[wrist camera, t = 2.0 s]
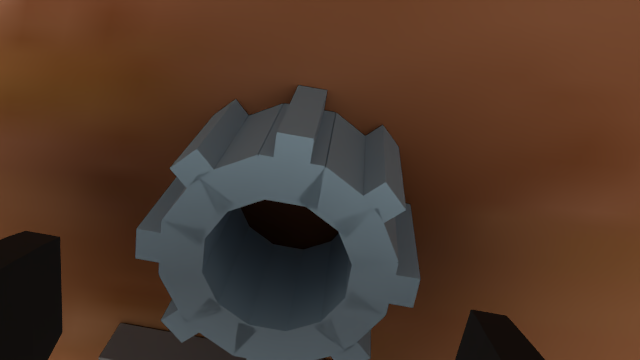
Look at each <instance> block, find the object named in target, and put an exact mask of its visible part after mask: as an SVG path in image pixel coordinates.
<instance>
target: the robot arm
mask: <svg viewBox="0 0 640 360" xmlns="http://www.w3.org/2000/svg"><path fill="white" fill-rule="evenodd" d="M61 334H62V296H61V257H60V237H57V236H51V235H46V234H40V233H34V232H29V231H24V232H21V233H18V234H15V235H12V236H9V237H6V238H4V239H1V240H0V360H48V358H49V356H50V354H51V353H52V351H53V349H54V347H55V345H56V343H57V341H58V339H59V338H60V336H61ZM455 360H545V359H544V358H543V357H542V356H541V355H540V353H539V352H538V351H537V350H536V349H535V348H534V346H533V345H532V344H531V343H530V342H529V341H528V339H527V338H526V337H525V336H524V335H523V334H522V332H521V331H520V330H519V329H518V328H517V327H516V326H515V325H514V323H513V322H512V321H511V320H510V319H509V318H508V317H507V316H505V315H499V314H493V313H488V312H482V311H476V310H471V311H470V315H469V318H468V321H467V324H466V327H465V330H464V334H463V337H462V340H461V343H460V346H459V350H458V353H457V356H456V359H455Z"/></svg>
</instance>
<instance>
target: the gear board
mask: <svg viewBox="0 0 640 360" xmlns="http://www.w3.org/2000/svg"><path fill="white" fill-rule="evenodd" d="M99 360H246V358H243V357H237V356H234V355H231V354H230V353H228V352H227V351H226V350H224V349H223V348H221V347H220V346H218V345H217V344H215V343H214V342H212V341H211V340H209V339H206V338H201V337H195V336H192V337H191V338H189V339H187V340H186V341H184V342H182V343H181V341H180V340H179V339H178V338H177V337H176V336H175V335H174V334H173V333H172V332H167V331H162V330H156V329H151V328H145V327H140V326H134V325H128V324H123V323H120V324H119V326H118V327H117V329H116V331H115V332H114V334H113V335H112V337H111V339H110V340H109V342H108V343H107V345H106V346H105V348H104V350H103V351H102V353H101V354H100V356H99ZM317 360H323V359H317Z"/></svg>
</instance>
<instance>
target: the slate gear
mask: <svg viewBox="0 0 640 360" xmlns="http://www.w3.org/2000/svg"><path fill="white" fill-rule="evenodd" d="M326 96H327V90H323V89H317V88H311V87H306V86H300V85H298V87H297V89H296V91H295V94H294V96H293V98H292V100H291V102H290V104H285V103H284V104H280V105H277V106H274V107H272V108H269V109H266V110H263V111H260V112H258V113H255V114H252V115H249V116H248V114H247V113H246V111H245V110H244V109H243V108H242V106H241V105H240V104H239V102H238V101H237V100H236V99H235V100H234V101H232V102H231V103H230V104H228V105H227V106H225V107H224V108H223V109H221V110H220V111H219V112H217V113H216V114H214V115H213V117H212V118H211V119H210V120H209V121H208V123H207V124H206V125H205V126H204V127H203V129H202V130H201V131H200V132H199V133H198V135H197V136H196V137H195V138H194V139H193V141H192V142H191V143H190V144H189V145H188V147H187V148H186V149H185V150H184V151H183V153H182V154H181V155H180V156H179V157H178V159H177V160H176V161H175V162H174V163H173V165H172V166H171V167H170V169H171V170H172V172H173V173H174V174H175V175H176V176H177V177H176V178H175V180H174V181H173V182H172V184H171V185H170V186H169V187H168V189H167V190H166V191H165V193H164V194H163V195H162V196H161V198H160V199H159V200H158V202H157V203H156V204H155V205H154V207H153V208H152V209H151V211H150V212H149V213H148V214H147V216H146V217H145V218H144V220H143V221H142V222H141V223H140V225H139V226H138V227H137V229H136V254H135V258H136V259H142V260H147V261H153V262H159V276H160V278H161V280H162V282H163V284H164V285H165V287H166V289H167V291H168V293H169V294H170V296H171V298H172V300H171V302H170V304H169V306H168V308H167V310H166V311H165V313H164V315H163V317H162V319H161V321H162V322H163V324H164V325H165V326H166V327H167V328H168V329H169V330H170V331H171V332H172V333H173V334H174V335H175V336H176V337H177V338H178V339H179V340H180V341H181V343H182V342H184V341H186V340H187V339H189V338H191V337H192V336H194V335H196V334H197V333H201V334H202V335H203V336H205V337H206V338H208V339H209V340H211V341H212V342H214V343H215V344H217V345H218V346H220V347H221V348H223V349H224V350H226V351H227V352H228V353H230V354H231V355H234V356H237V357H243V358H246V360H317V359H321V358H325V357H329V356H331V357H332V359H333V360H368V359H370V358H371V329H372V328H373V327H374V326H375V325H376V324H377V323H378V322H379V321H380V320H381V319H382V318H384V317H385V316H386V313H387V309H388V305H389V304H394V305H400V306H405V307H411V308H413V306H414V302H415V298H416V294H417V290H418V287H419V283H420V272H419V265H418V257H417V250H416V242H415V235H414V228H413V220H412V213H411V205H410V204H406V203H405V196H404V187H403V179H402V170H401V162H400V153H399V147H398V145H397V144H396V143H395V141H394V140H393V138H392V137H391V136H390V134H389V133H388V131H387V130H386V128H385V127H384V126H383V125H382V126H380V127H378V128H377V129H375V130H374V131H372V132H371V133H369V134H368V135H366V136H365V135H363V134H362V133H361V132H360V131H359V130H357V129H356V128H355V127H354V126H352V125H351V124H350V123H349V122H347V121H346V120H345V119H344V118H342V117H341V116H340V115H339V114H337V113H336V112H331V111H325V110H324V108H325V102H326ZM335 113H336V114H335ZM262 200H271V201H276V202H282V203H288V204H293V205H299V206H305V207H307V208H308V209H310V210H311V211H312V212H314V213H315V214H316V215H318V216H319V217H320V218H321V219H323V220H324V221H325V222H327V223H328V224H329V225H331V226H332V227H333V228H335V229H336V230H337V231H338V232H339V233H338V235H337V236H336V237H335V238H334V239H333V240H332V241H330V242H326V243H323V244H320V245H316V246H313V247H310V248H306V249H298V248H292V247H286V246H281V245H275V244H272V243H271V242H270V241H268V240H267V239H266V238H264V237H263V236H262V235H260V234H259V233H258V232H256V231H255V230H253V229H252V228H251V227H249V225H248V222H247V220H246V218H245V216H244V214H243V212H242V210H241V208H240V207H243V206H246V205H250V204H253V203H256V202H259V201H262Z"/></svg>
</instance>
